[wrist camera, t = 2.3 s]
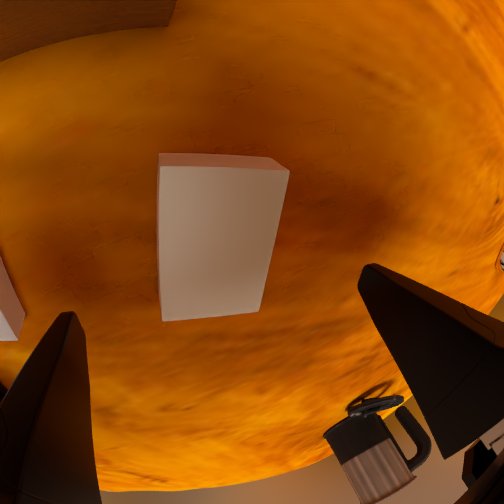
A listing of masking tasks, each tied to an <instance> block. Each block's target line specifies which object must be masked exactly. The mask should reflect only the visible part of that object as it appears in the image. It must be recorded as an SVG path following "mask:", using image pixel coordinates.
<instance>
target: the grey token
mask: <svg viewBox="0 0 504 504" xmlns="http://www.w3.org/2000/svg"><path fill="white" fill-rule="evenodd" d="M24 318H25V312H24V310H23V308H22V306H21V304H20V301H19V299H18V297H17V295H16V293H15V291H14V288H13V286H12V284H11V281H10V279H9V277H8V274H7V272H6V269H5V267H4V264H3V261H2V259H1V256H0V341H18V339H19V335H20V332H21V328H22V325H23V321H24Z"/></svg>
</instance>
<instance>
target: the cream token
mask: <svg viewBox="0 0 504 504" xmlns="http://www.w3.org/2000/svg"><path fill="white" fill-rule="evenodd" d="M289 175H290V171H289V170H288V169H286V168H285V167H283V166H282V165H281V164H279V163H278V162H276V161H275V160H273V159H272V158H269V157H257V156H243V155H226V154H201V153H159V154H158V174H157V270H158V291H159V301H160V308H161V316H162V322H164V321H176V320H187V319H198V318H208V317H218V316H227V315H235V314H244V313H252V312H259V308H260V304H261V300H262V295H263V291H264V287H265V283H266V278H267V274H268V270H269V265H270V261H271V257H272V252H273V248H274V243H275V239H276V234H277V230H278V225H279V221H280V216H281V212H282V207H283V203H284V198H285V193H286V189H287V184H288V179H289Z"/></svg>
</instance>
